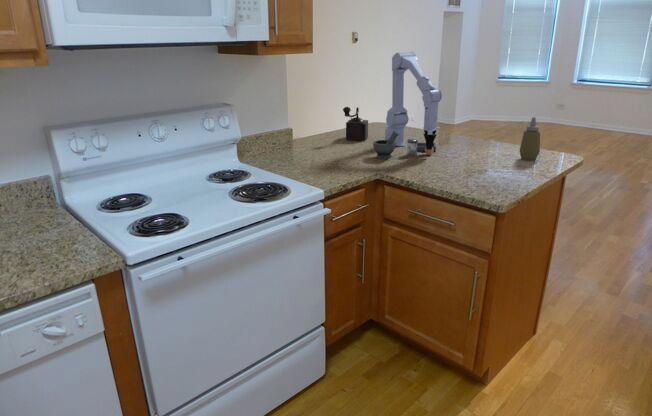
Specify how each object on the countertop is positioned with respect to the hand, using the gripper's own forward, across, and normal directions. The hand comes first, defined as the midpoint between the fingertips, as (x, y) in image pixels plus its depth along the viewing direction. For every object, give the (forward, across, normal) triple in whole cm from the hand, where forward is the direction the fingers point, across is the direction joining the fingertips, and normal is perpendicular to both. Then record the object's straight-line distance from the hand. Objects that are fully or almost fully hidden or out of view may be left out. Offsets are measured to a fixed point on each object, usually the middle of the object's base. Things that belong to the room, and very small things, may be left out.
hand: (429, 147), depth 211 cm
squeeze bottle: (+4, -3, -42) cm, 42 cm away
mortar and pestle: (+4, -7, +19) cm, 21 cm away
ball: (+3, 0, 0) cm, 3 cm away
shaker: (+3, -1, +8) cm, 8 cm away
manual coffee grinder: (+3, +28, +38) cm, 47 cm away
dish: (+3, +10, +3) cm, 11 cm away
